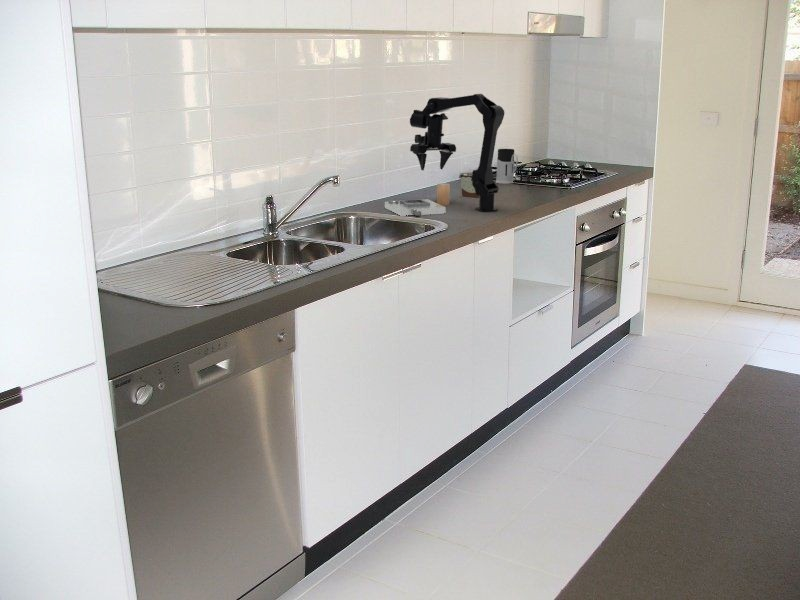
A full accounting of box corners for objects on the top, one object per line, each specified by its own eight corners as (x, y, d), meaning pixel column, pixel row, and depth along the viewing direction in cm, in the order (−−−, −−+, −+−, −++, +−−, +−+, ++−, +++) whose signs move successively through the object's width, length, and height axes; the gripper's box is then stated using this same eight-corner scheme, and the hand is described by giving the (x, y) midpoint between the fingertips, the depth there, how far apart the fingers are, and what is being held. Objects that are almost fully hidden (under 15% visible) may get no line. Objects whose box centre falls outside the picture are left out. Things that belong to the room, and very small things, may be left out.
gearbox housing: (448, 215, 331) (448, 205, 330) (403, 217, 325) (403, 208, 324) (427, 205, 350) (427, 196, 349) (384, 208, 344) (384, 199, 343)
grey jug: (508, 180, 415) (509, 148, 411) (524, 184, 403) (525, 151, 399) (491, 181, 412) (493, 148, 408) (507, 185, 400) (509, 152, 395)
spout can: (451, 204, 352) (451, 184, 349) (439, 205, 350) (440, 185, 348) (444, 202, 358) (445, 182, 356) (433, 202, 356) (433, 182, 354)
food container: (491, 197, 369) (492, 173, 366) (485, 199, 364) (485, 175, 361) (464, 194, 375) (465, 171, 372) (458, 197, 370) (458, 173, 367)
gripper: (441, 126, 358) (438, 165, 362) (403, 127, 347) (401, 167, 352) (458, 130, 349) (455, 170, 354) (419, 131, 339) (417, 172, 344)
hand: (431, 169), depth 351 cm, fingers open, 9 cm apart
